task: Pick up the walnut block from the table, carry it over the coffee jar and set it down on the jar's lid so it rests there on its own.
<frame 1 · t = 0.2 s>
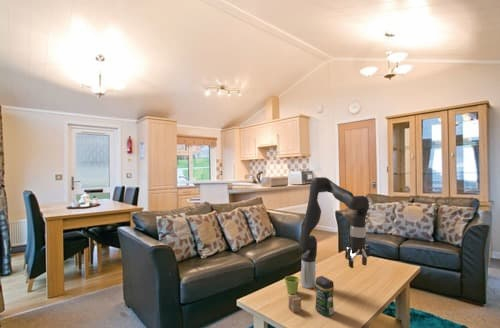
hand: (357, 266, 139), 29 cm above the table, fingers open, 8 cm apart
coffee jar: (324, 312, 149), on the table
plant pot: (292, 292, 171), on the table
walnut block: (294, 309, 151), on the table
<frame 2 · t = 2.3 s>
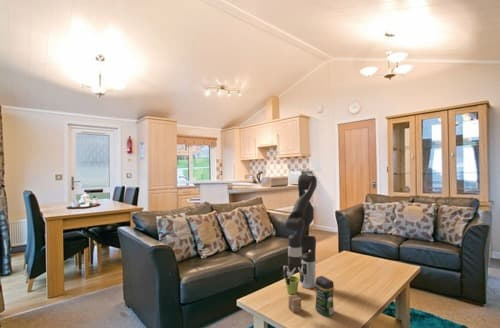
hand: (294, 283, 151), 15 cm above the table, fingers open, 8 cm apart
nothing on the table moved.
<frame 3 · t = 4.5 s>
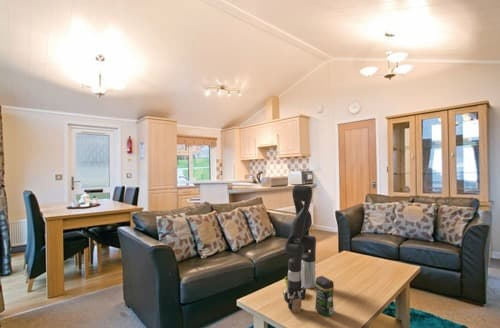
hand: (294, 308, 151), 1 cm above the table, fingers closed on walnut block, 5 cm apart
walnut block: (294, 309, 151), on the table, touching gripper
everything else where it was.
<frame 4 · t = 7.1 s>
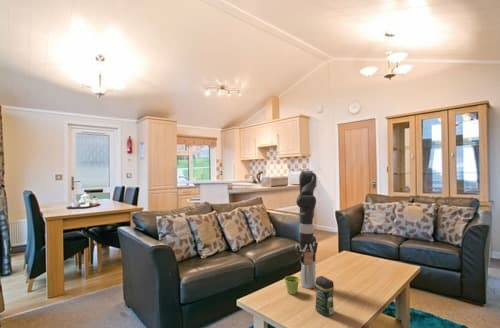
hand: (306, 261, 150), 27 cm above the table, fingers closed on walnut block, 5 cm apart
walnut block: (306, 263, 150), point 26 cm above the table, touching gripper
everything else where it was.
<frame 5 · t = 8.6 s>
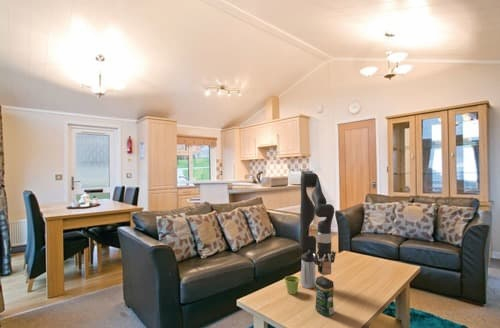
hand: (324, 271, 149), 22 cm above the table, fingers closed on walnut block, 5 cm apart
walnut block: (324, 273, 149), point 21 cm above the table, touching gripper
everything else where it was.
when the fingers open (21 cm above the table, at t = 9.7 s): walnut block drops 1 cm, resting on coffee jar.
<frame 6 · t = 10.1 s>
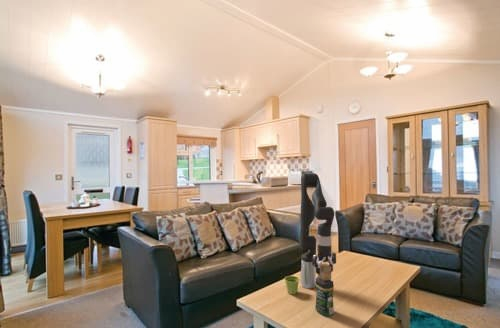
hand: (324, 272, 149), 22 cm above the table, fingers open, 8 cm apart
coffee jar: (324, 312, 149), on the table, touching walnut block
walnut block: (324, 278, 149), point 19 cm above the table, touching coffee jar
everything else where it was.
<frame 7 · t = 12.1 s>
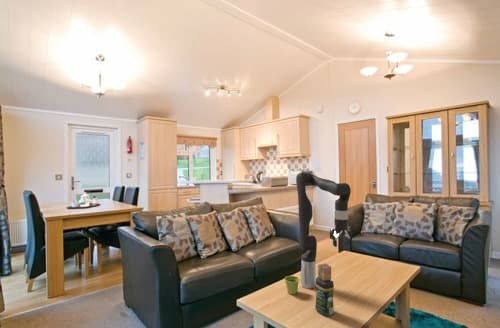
hand: (341, 245, 157), 34 cm above the table, fingers open, 8 cm apart
nothing on the table moved.
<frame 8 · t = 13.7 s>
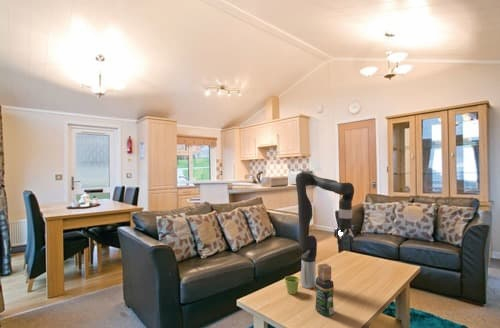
hand: (345, 244, 159), 34 cm above the table, fingers open, 8 cm apart
nothing on the table moved.
at the end: walnut block 0.1 cm from the coffee jar (horizontally); walnut block point 18.5 cm above the table; the gripper is holding nothing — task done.
